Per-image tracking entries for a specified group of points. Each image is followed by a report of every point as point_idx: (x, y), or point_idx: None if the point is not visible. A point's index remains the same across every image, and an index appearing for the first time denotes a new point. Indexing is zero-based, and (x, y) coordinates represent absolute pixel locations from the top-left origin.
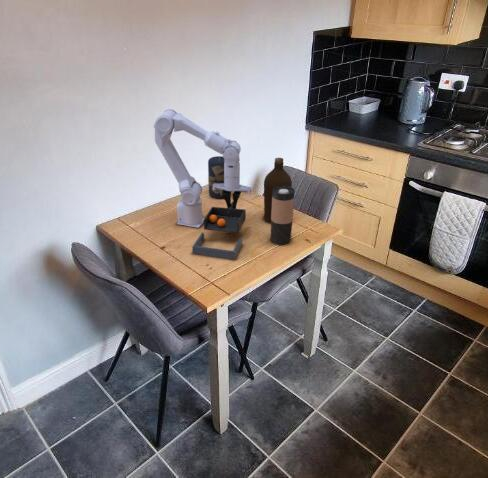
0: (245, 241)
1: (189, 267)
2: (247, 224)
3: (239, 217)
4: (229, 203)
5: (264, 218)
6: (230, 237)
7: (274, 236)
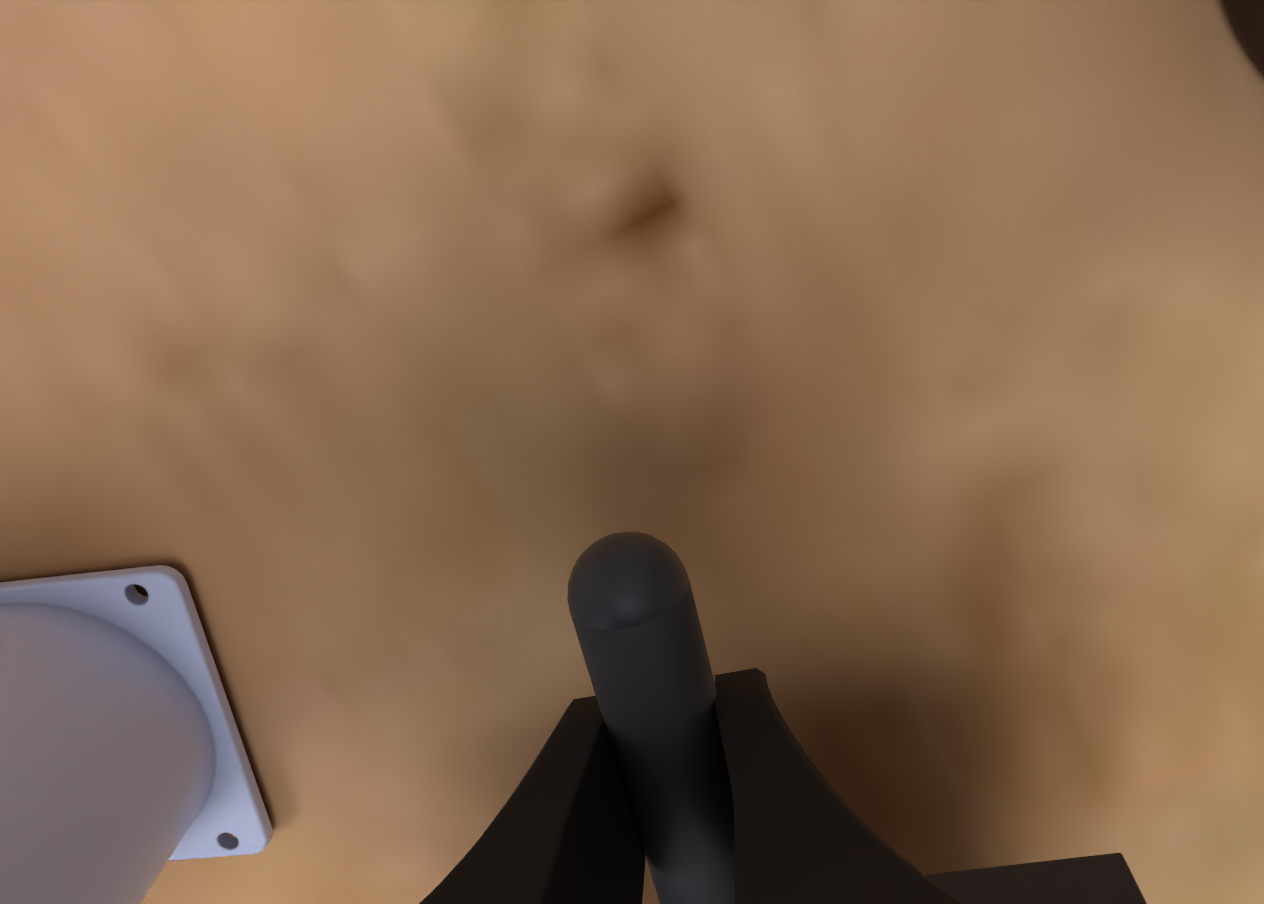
0: None
1: None
2: (942, 399)
3: (984, 895)
4: (618, 871)
5: (1249, 39)
6: None
7: None
